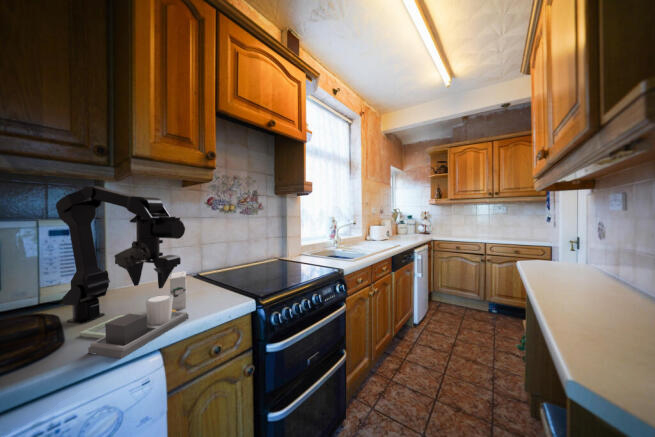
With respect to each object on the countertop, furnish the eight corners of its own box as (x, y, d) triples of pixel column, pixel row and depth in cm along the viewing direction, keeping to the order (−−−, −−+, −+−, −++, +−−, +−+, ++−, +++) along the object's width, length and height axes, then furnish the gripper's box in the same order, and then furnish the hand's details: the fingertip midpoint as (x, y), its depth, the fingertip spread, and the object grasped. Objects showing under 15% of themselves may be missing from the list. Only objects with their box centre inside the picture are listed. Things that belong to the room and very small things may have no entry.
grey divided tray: (88, 353, 58) (87, 327, 58) (162, 315, 79) (162, 296, 79) (121, 358, 56) (120, 331, 56) (188, 318, 77) (188, 298, 77)
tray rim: (79, 335, 66) (79, 332, 66) (120, 318, 77) (120, 315, 77) (111, 339, 64) (111, 336, 64) (148, 321, 75) (148, 318, 75)
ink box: (171, 302, 90) (170, 272, 89) (186, 300, 92) (186, 270, 92) (170, 311, 83) (169, 278, 82) (186, 308, 85) (186, 275, 85)
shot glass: (177, 318, 74) (177, 296, 73) (152, 328, 68) (152, 304, 67) (166, 313, 77) (166, 292, 77) (141, 322, 71) (141, 299, 71)
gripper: (94, 239, 67) (95, 292, 68) (149, 242, 63) (149, 299, 64) (133, 234, 78) (133, 281, 79) (182, 237, 74) (181, 286, 75)
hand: (148, 286), depth 74 cm, fingers open, 9 cm apart
